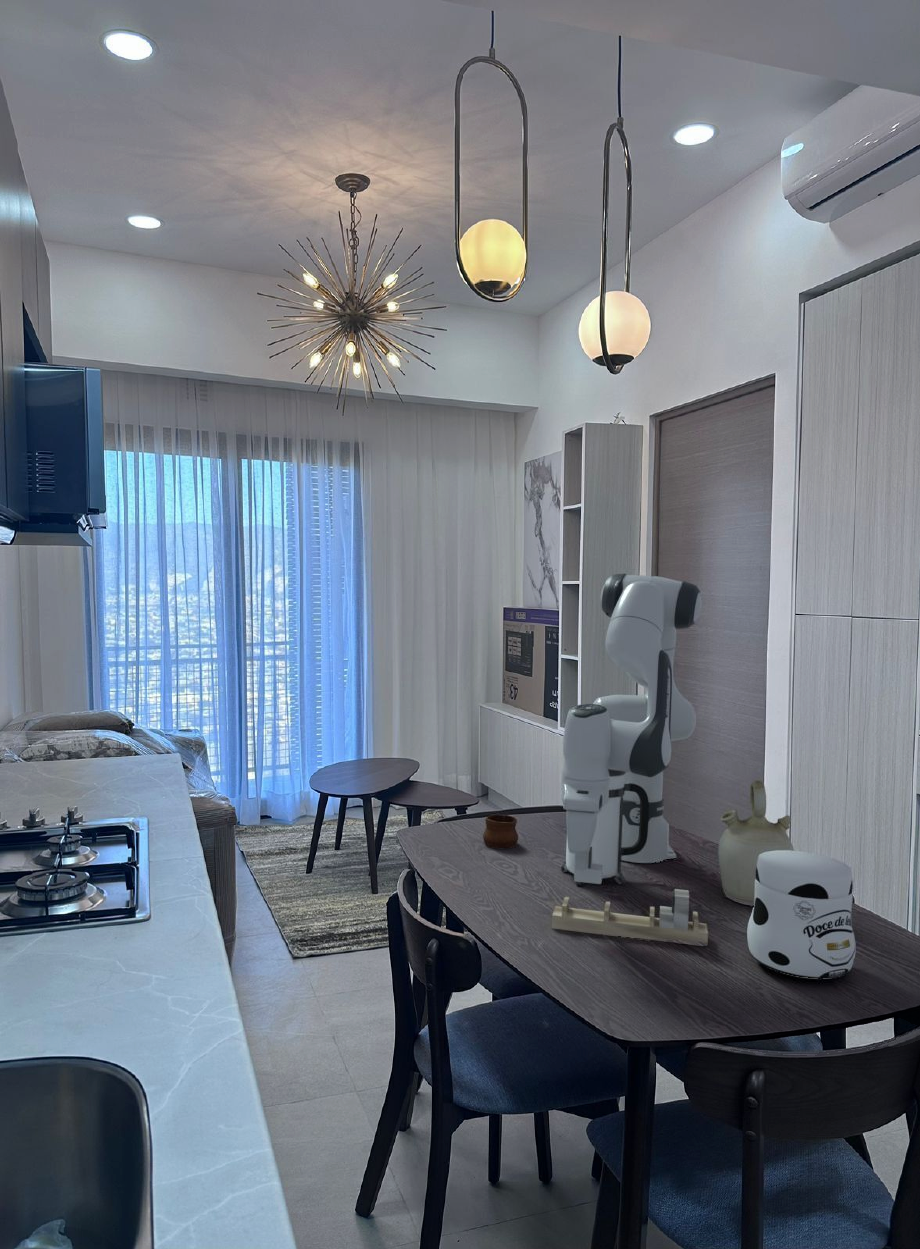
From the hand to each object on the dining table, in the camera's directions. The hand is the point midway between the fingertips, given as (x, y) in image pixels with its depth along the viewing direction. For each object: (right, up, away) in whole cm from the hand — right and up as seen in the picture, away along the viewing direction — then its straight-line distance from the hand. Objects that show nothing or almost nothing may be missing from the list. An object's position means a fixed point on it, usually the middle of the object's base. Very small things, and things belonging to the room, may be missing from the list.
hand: (582, 864), depth 163 cm
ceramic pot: (-13, -10, +53) cm, 56 cm away
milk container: (+35, -14, -14) cm, 40 cm away
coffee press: (+8, -11, +30) cm, 33 cm away
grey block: (+1, -3, 0) cm, 3 cm away
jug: (+39, -13, +20) cm, 46 cm away
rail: (+8, -12, -2) cm, 15 cm away
